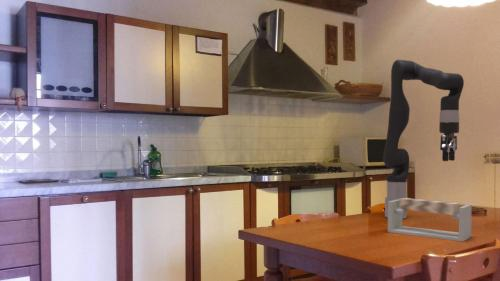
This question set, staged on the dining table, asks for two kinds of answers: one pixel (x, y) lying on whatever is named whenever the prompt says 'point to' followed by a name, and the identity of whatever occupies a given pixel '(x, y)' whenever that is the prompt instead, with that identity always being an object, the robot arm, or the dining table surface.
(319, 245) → the dining table surface
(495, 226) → the dining table surface
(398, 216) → the grey c-shaped frame
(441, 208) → the shelf board
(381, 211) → the dining table surface
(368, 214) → the dining table surface
